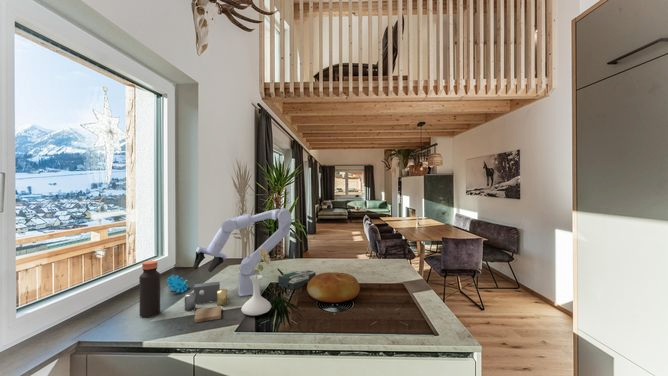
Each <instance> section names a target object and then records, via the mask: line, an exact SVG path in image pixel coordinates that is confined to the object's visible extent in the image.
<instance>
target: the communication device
mask: <svg viewBox="0 0 668 376" xmlns="http://www.w3.org/2000/svg"><path fill="white" fill-rule="evenodd" d="M277 271H278V272H279V273H280V274H281V275H278V276H277V283H278V286H279V287H282V288H286V289H291V290H296V289H299V288H301V287H303V286H305V285H306V283H307V284H308V283H309V281H310V280H311V279H312V278H313V277H314V276H316V275H317V274H316V272H315V271H314V270H310V269H309V270H305V269H304V270H301V271H299V270H295V271H291V272H287V273H284V272H283V271H282V270H281V269H280V268H277Z"/></svg>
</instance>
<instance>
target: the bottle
mask: <svg viewBox="0 0 668 376" xmlns="http://www.w3.org/2000/svg"><path fill="white" fill-rule="evenodd" d="M141 265H142V266H141V267H142V271H143V272H142V273H141V274H140V275H139V284H138V285H139V290H138V291H139V292H138V293H139V296H138V297H139V317H140V318H151V317H154V316H155V317H156V316H157V315H159V313H161V273H160V272H159V271H158V270H157V269H158V261H157V260H147V261H145V262H141Z"/></svg>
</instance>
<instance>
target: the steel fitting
mask: <svg viewBox="0 0 668 376" xmlns="http://www.w3.org/2000/svg"><path fill="white" fill-rule="evenodd" d="M196 305H197V304H196V293H194V292H187V293H185V294H184V312H193V311H195V310H197V309H196V308H197V307H196ZM194 309H195V310H194ZM192 310H193V311H192Z"/></svg>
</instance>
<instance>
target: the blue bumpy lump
mask: <svg viewBox="0 0 668 376" xmlns="http://www.w3.org/2000/svg"><path fill="white" fill-rule="evenodd" d="M166 283H167V284H168V285H167V286H168V288H171V289H169V292H174V291H175V290H176V291H175V293H176V294H179V293H180V294H183V293H184V292H186V291H187V290H188V286H189V285H188V284H187V283H188V279H185V280H184V278H183V277H182V276H181V277H180V276H179V275H178V274H177V275H174V274H171V276H169V277H168V278H167V280H166Z"/></svg>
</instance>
